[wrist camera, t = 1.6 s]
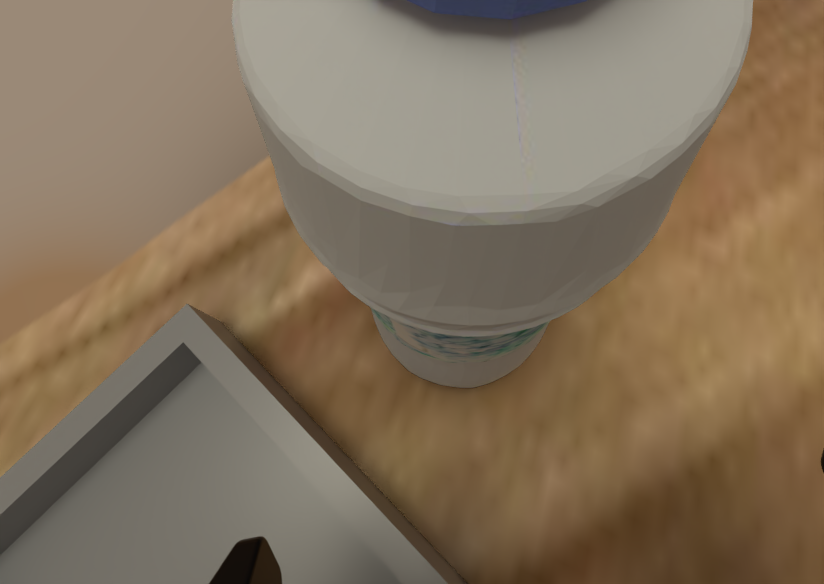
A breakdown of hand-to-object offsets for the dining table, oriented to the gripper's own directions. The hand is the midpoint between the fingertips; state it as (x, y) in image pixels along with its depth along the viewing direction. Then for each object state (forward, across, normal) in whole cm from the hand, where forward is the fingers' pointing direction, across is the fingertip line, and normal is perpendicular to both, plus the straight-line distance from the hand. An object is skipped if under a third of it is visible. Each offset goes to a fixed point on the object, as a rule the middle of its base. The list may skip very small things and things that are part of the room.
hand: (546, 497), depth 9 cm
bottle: (+13, 0, +5) cm, 14 cm away
